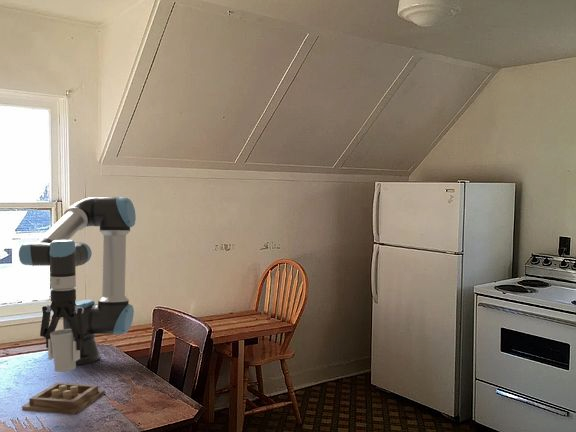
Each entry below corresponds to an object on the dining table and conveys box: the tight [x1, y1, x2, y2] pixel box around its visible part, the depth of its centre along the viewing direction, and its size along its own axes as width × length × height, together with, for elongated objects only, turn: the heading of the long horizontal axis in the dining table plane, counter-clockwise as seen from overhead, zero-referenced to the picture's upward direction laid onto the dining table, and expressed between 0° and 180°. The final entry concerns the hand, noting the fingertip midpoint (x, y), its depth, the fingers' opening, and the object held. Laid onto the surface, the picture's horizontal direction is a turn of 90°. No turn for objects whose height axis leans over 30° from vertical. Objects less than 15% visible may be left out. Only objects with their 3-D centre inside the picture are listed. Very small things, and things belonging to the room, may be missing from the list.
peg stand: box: [21, 382, 106, 415], centre depth 185 cm, size 18×18×4 cm
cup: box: [50, 328, 77, 373], centre depth 184 cm, size 8×8×12 cm
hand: (64, 359), depth 185 cm, fingers closed on cup, 8 cm apart
